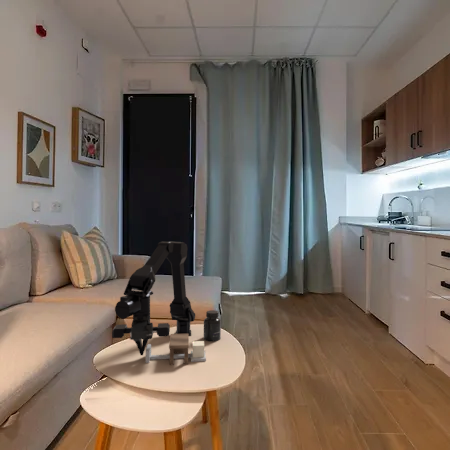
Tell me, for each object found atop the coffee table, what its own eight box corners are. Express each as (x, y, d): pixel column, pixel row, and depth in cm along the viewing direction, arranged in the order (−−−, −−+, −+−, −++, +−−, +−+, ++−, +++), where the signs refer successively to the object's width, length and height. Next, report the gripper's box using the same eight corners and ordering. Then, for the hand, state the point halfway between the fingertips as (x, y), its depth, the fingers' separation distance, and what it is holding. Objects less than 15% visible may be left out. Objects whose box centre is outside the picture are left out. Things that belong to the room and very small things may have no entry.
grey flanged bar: (147, 354, 124) (147, 343, 124) (205, 352, 126) (205, 341, 126) (145, 363, 117) (145, 351, 117) (205, 361, 119) (205, 349, 119)
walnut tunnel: (170, 352, 127) (170, 333, 126) (188, 351, 127) (188, 333, 127) (169, 365, 116) (169, 345, 116) (188, 365, 117) (188, 345, 116)
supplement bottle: (218, 345, 136) (218, 314, 135) (201, 344, 137) (201, 313, 137) (222, 338, 143) (222, 309, 142) (206, 337, 144) (206, 308, 143)
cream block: (192, 352, 124) (192, 341, 124) (203, 352, 125) (203, 341, 124) (192, 357, 120) (192, 345, 120) (204, 356, 121) (204, 345, 120)
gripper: (108, 318, 111) (108, 366, 111) (167, 316, 113) (168, 364, 113) (115, 308, 122) (115, 352, 123) (169, 306, 124) (169, 350, 124)
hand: (141, 354), depth 120 cm, fingers closed
